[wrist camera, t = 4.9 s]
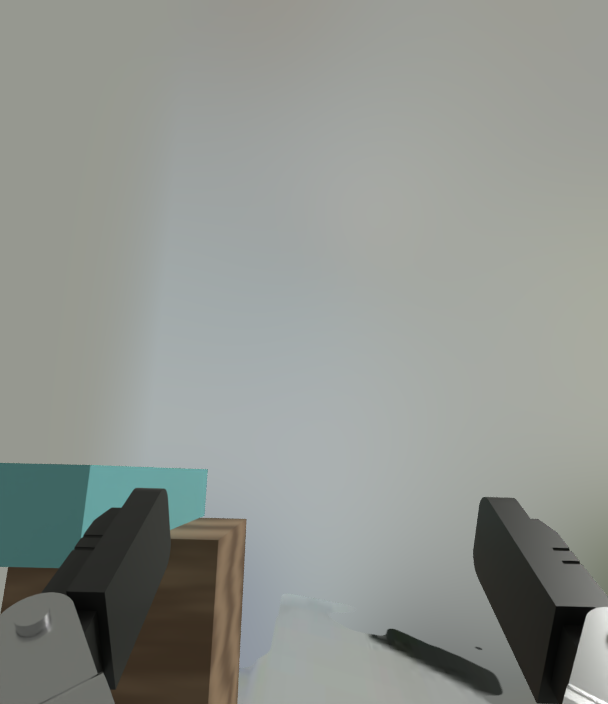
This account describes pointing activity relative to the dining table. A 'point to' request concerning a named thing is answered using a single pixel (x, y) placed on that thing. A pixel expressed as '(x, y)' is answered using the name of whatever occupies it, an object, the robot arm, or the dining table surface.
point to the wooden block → (179, 618)
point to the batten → (79, 504)
